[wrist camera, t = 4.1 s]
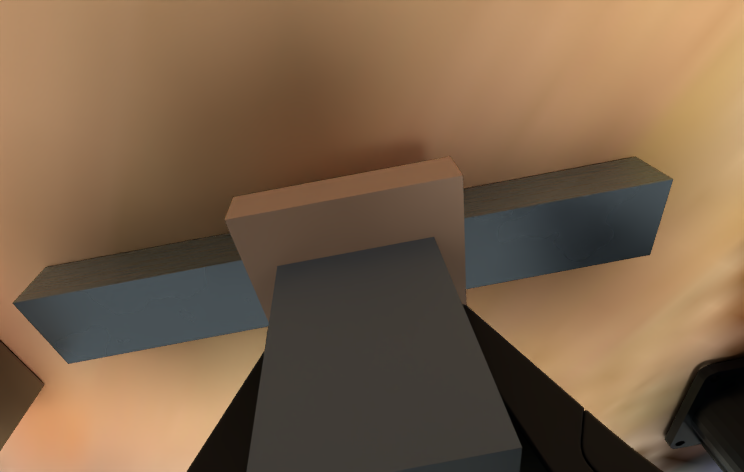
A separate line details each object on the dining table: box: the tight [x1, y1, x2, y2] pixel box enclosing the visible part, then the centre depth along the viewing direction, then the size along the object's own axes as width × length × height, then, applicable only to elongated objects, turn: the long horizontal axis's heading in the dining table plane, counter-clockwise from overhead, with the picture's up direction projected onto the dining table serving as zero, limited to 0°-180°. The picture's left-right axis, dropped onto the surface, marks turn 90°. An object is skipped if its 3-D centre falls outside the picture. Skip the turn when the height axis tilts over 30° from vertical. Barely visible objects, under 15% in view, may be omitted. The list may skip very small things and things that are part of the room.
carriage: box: [225, 156, 522, 472], centre depth 9 cm, size 6×5×7 cm
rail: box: [13, 157, 673, 364], centre depth 12 cm, size 2×18×2 cm, turn 99°
